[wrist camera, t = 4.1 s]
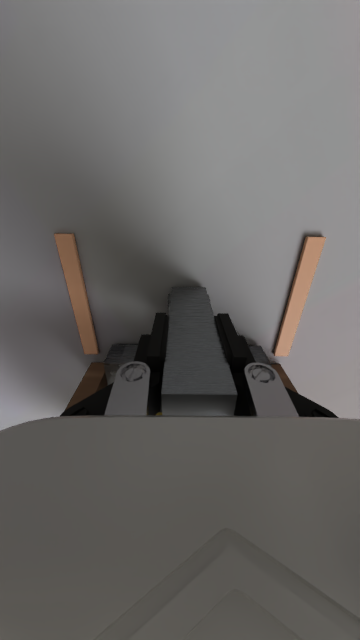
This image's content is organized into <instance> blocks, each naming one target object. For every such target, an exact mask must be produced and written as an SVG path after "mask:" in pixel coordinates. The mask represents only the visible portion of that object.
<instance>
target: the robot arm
mask: <svg viewBox="0 0 360 640" xmlns="http://www.w3.org/2000/svg"><path fill="white" fill-rule="evenodd" d="M214 320H215V323H216V326H217V330H218V333H219V337H220V340H221V343H222V347H223V350H224V353H225V357H226V360H227V362H228V364H229V368H230V371H231V374H232V378H233V381H234V384H235V388H236V391H237V394H238V395H237V400H236V405H235V410H234V415H235V416H189V415H156V414H157V413H158V412H162V397H161V392H162V382H163V372H164V362H165V358H166V348H167V337H168V327H169V315H166V313H156V315H155V320H154V324H153V329H152V333H151V335H141V337H140V341H139V344H138V348H137V351H136V354H135V358H134V361H133V362H129V363H126V364H124V365H123V366H121V367H120V368H119V369H118V371H117V373H116V377H115V380H114V382H113V383H111V384H110V385H108V386H106V387H104V388H103V389H101V390H99V391H97V392H96V393H94V394H92V395H90V396H89V397H87V398H85V399H83V400H82V401H80V402H78V403H76V404H74V405H73V406H71V407H69V408H68V409H67V410H65V411H64V412H63V413H62V414H61V415H60V417H50V418H43V419H38V420H33V421H28V422H25V423H21V424H18V425H15V426H11V427H9V428H6V429H3V430H1V431H0V640H360V419H347V418H338V417H337V416H336V415H335V414H334V413H332V412H331V411H329V410H328V409H326V408H324V407H322V406H320V405H318V404H317V403H315V402H313V401H311V400H309V399H307V398H305V397H304V396H302V395H300V394H298V393H296V392H294V391H292V390H290V389H289V388H287V387H285V386H284V385H283V383H282V381H281V379H280V377H279V375H278V373H277V372H276V370H274V369H273V368H272V367H270V366H268V365H266V364H263V363H256V361H255V359H254V357H253V355H252V353H251V351H250V349H249V347H248V344H247V342H246V340H245V338H244V337H243V336H238V335H237V333H236V331H235V328H234V326H233V324H232V321H231V319H230V317H229V315H228V314H218V315H217V316H214Z"/></svg>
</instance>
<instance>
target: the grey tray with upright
mask: <svg viewBox="0 0 360 640" xmlns="http://www.w3.org/2000/svg"><path fill="white" fill-rule="evenodd" d="M168 315H169V327H168V337H167V348H166V358H165V362H164V372H163V382H162V392H161V397H162V415H189V416H235V415H234V410H235V405H236V400H237V395H238V394H237V391H236V388H235V384H234V381H233V378H232V374H231V371H230V368H229V364H228V362H227V360H226V357H225V353H224V350H223V347H222V343H221V340H220V337H219V333H218V330H217V326H216V323H215V320H214V315H213V311H212V308H211V305H210V299H209V296H208V294H207V291H206V288H203V287H172V293H171V294H169V296H168ZM248 347H249V349H250V351H251V353H252V355H253V357H254V359H255V361H256V363H263V364H266V365H268V366H270V367H271V366H272V365H271V363H270V361H269V360H268V358H267V356H266V354H265V353H264V351H263V349H262V347H261V346H248ZM137 348H138V345H112V347H111V349H110V351H109V353H108V355H107V357H106V359H105V361H104V363H103V364H104V369H105V374H106V378H107V383H108V385H110V384H111V383H113V382H114V380H115V377H116V373H117V371H118V369H119V368H120V367H121V366H123V365H124V364H126V363H129V362H133V361H134V358H135V354H136V351H137Z"/></svg>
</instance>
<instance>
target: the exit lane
mask: <svg viewBox="0 0 360 640" xmlns="http://www.w3.org/2000/svg"><path fill="white" fill-rule="evenodd" d="M54 236H55V240H56V244H57V248H58V252H59V256H60V260H61V264H62V268H63V272H64V276H65V279H66V283H67V287H68V291H69V295H70V299H71V303H72V307H73V311H74V315H75V319H76V323H77V326H78V330H79V334H80V338H81V342H82V346H83V350H84V354H98V353H99V349H98V344H97V340H96V335H95V330H94V326H93V321H92V316H91V312H90V307H89V302H88V297H87V293H86V288H85V283H84V279H83V274H82V269H81V265H80V260H79V255H78V250H77V246H76V241H75V236H74V234H59V233H56V234H54ZM325 239H326V237H306V238H305V242H304V245H303V249H302V253H301V256H300V260H299V263H298V267H297V271H296V274H295V278H294V281H293V285H292V289H291V292H290V296H289V299H288V303H287V307H286V310H285V314H284V317H283V321H282V325H281V328H280V332H279V335H278V339H277V343H276V346H275V350H274V353H273V354H274V356H288V355H289V351H290V348H291V345H292V342H293V339H294V336H295V333H296V330H297V327H298V323H299V320H300V317H301V314H302V311H303V308H304V305H305V302H306V298H307V295H308V292H309V289H310V286H311V283H312V280H313V277H314V274H315V270H316V267H317V264H318V261H319V258H320V255H321V252H322V249H323V246H324V242H325Z"/></svg>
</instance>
